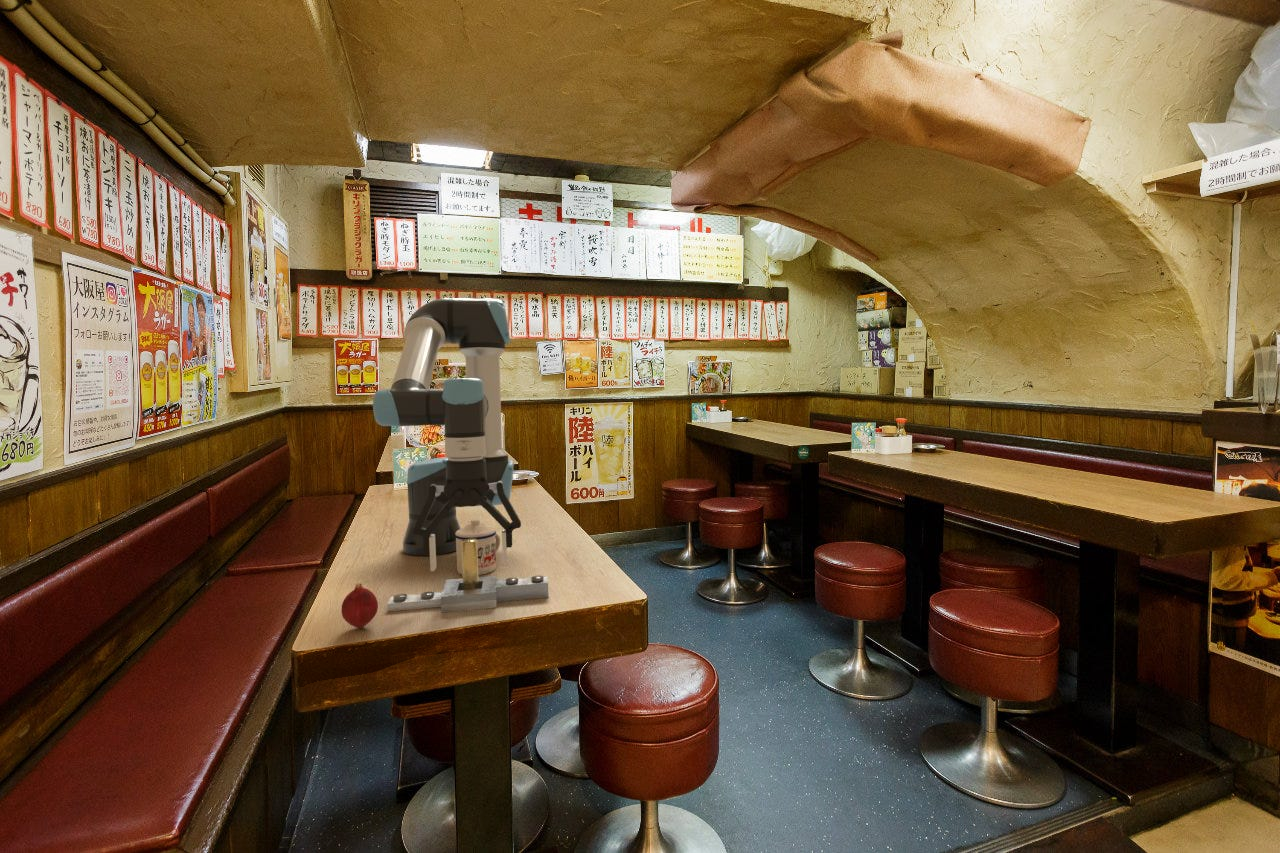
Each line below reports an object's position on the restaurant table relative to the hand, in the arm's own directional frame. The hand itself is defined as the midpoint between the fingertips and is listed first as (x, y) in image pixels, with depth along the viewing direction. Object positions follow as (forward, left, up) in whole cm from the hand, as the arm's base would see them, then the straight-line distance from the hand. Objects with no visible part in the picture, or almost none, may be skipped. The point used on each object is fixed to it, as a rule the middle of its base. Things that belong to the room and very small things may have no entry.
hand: (469, 566), depth 116 cm
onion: (+9, -18, -7) cm, 21 cm away
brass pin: (0, 0, -7) cm, 7 cm away
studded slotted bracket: (0, 0, -7) cm, 7 cm away
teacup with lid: (-21, +1, -7) cm, 22 cm away
